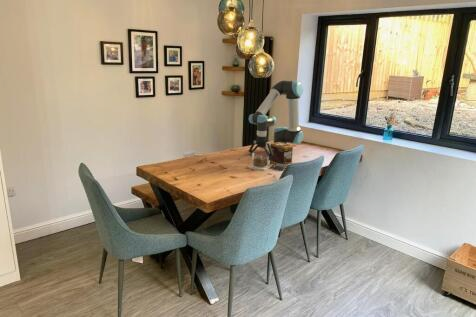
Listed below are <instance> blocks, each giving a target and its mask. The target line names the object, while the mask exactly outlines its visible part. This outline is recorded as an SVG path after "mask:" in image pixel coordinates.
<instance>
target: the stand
mask: <svg viewBox="0 0 476 317" xmlns="http://www.w3.org/2000/svg"><path fill="white" fill-rule="evenodd" d="M273 167H274V168H273V169H274V170H277V171H282V172H284V169H285V167H286V168H287V165H285V164H280V163H278V164H275V165H274V166H273ZM285 170H286V169H285Z"/></svg>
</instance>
